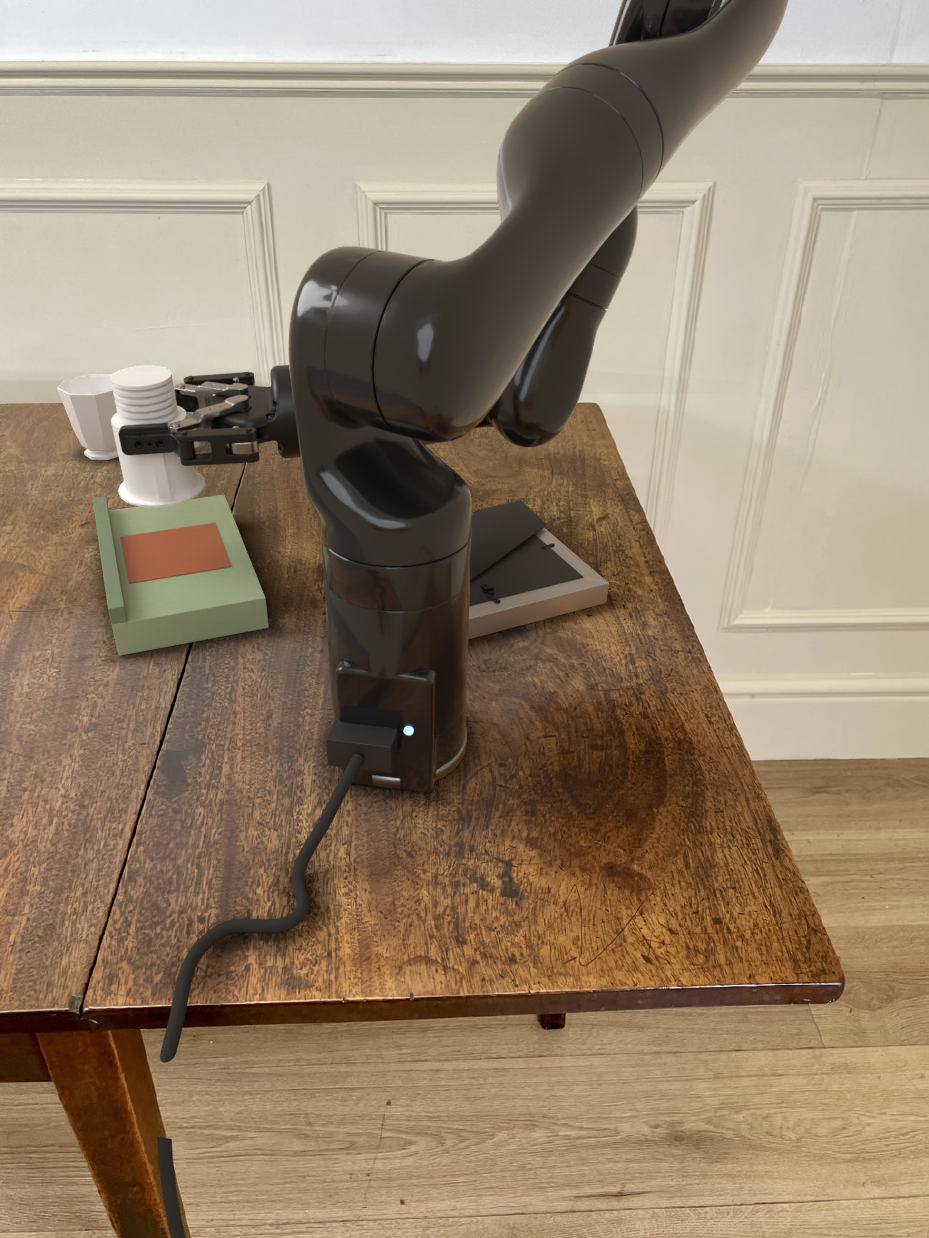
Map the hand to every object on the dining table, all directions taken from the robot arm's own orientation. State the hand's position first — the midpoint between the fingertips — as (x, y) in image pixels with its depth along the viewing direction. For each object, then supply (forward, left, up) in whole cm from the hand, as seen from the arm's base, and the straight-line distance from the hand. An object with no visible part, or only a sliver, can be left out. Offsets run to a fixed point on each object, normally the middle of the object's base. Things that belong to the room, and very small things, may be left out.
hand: (125, 422), depth 76 cm
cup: (+27, +18, -15) cm, 36 cm away
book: (+1, -2, -15) cm, 15 cm away
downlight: (0, -2, -6) cm, 6 cm away
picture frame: (+5, -27, -15) cm, 31 cm away
